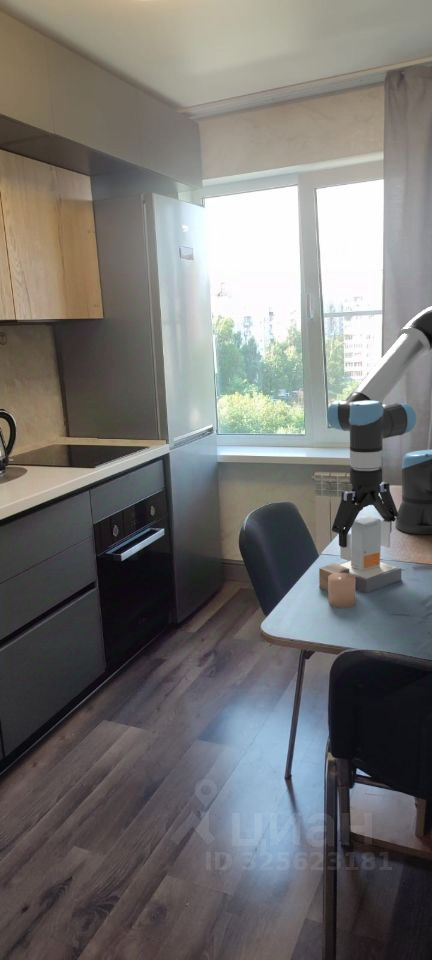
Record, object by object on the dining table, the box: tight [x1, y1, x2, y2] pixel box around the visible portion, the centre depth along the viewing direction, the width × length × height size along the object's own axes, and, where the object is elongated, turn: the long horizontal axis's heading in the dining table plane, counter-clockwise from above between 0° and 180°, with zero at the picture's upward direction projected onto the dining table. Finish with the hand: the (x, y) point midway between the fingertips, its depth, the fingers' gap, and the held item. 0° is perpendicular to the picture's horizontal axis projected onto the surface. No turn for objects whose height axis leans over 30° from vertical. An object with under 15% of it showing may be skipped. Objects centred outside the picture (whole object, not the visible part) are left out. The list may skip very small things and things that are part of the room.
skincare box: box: [350, 515, 382, 571], centre depth 163 cm, size 6×4×12 cm
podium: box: [337, 560, 402, 594], centre depth 164 cm, size 12×12×3 cm
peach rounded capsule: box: [327, 573, 356, 609], centre depth 152 cm, size 6×6×6 cm
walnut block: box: [318, 563, 349, 592], centre depth 160 cm, size 5×5×5 cm
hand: (365, 552), depth 163 cm, fingers open, 13 cm apart
